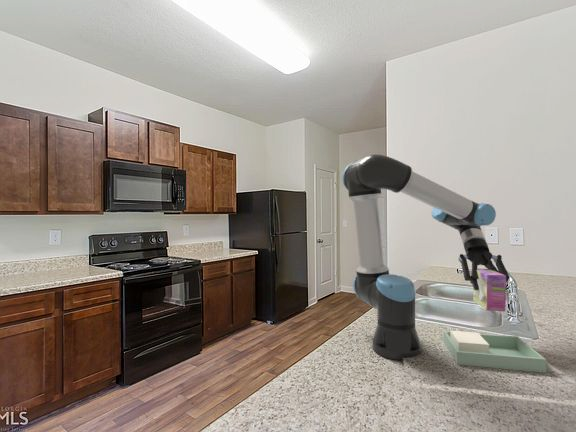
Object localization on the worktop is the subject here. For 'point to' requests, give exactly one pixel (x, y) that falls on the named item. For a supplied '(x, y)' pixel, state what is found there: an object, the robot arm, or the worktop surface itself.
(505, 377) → the worktop surface
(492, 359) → the tote
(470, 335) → the carton
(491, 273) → the box
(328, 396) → the worktop surface
